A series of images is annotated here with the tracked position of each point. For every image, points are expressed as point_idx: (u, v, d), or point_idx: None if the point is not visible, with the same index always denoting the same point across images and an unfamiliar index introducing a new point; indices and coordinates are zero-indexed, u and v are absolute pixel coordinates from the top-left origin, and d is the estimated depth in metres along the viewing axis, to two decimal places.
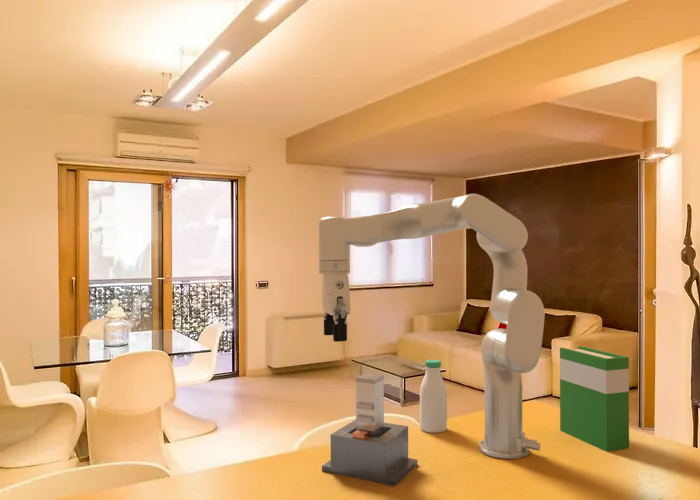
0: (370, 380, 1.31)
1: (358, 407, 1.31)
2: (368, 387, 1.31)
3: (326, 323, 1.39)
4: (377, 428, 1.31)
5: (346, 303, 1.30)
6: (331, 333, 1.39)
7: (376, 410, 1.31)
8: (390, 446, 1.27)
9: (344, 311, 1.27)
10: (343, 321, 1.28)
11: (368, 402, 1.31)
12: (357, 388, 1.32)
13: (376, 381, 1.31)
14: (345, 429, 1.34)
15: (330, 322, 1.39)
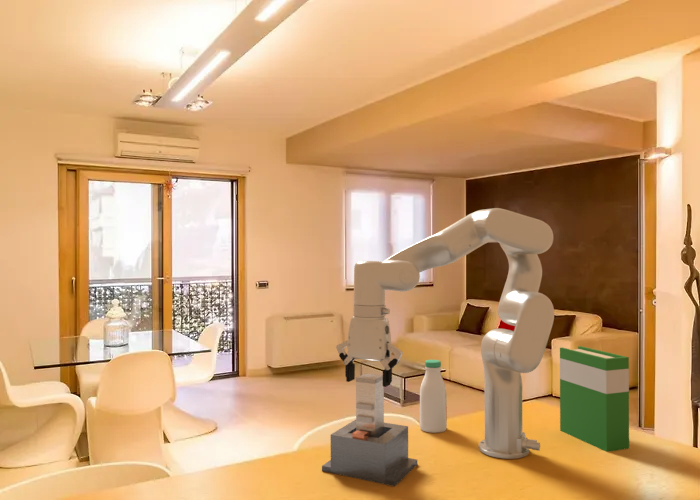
0: (370, 380, 1.31)
1: (358, 407, 1.31)
2: (368, 387, 1.31)
3: (349, 369, 1.34)
4: (377, 428, 1.31)
5: None
6: (352, 379, 1.36)
7: (376, 410, 1.31)
8: (390, 446, 1.27)
9: None
10: (394, 365, 1.30)
11: (368, 402, 1.31)
12: (357, 388, 1.32)
13: (376, 381, 1.31)
14: (345, 429, 1.34)
15: (352, 367, 1.35)
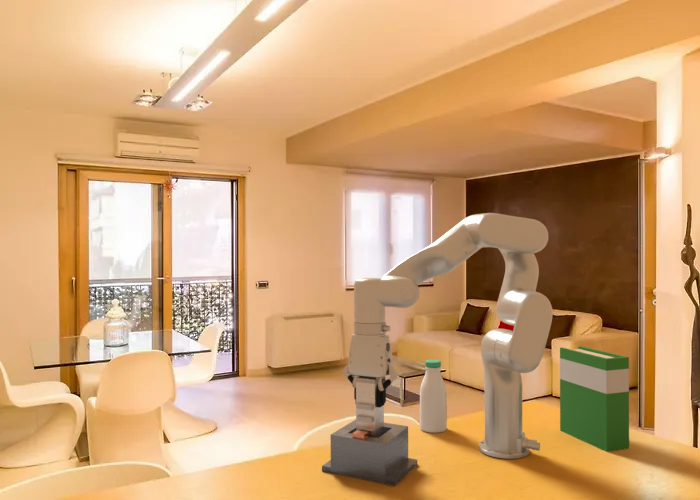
0: (370, 380, 1.31)
1: (358, 407, 1.31)
2: (368, 387, 1.31)
3: None
4: (377, 428, 1.31)
5: (391, 364, 1.32)
6: None
7: (376, 410, 1.31)
8: (390, 446, 1.27)
9: (396, 379, 1.30)
10: None
11: (368, 402, 1.31)
12: (357, 388, 1.32)
13: (376, 381, 1.31)
14: (345, 429, 1.34)
15: None
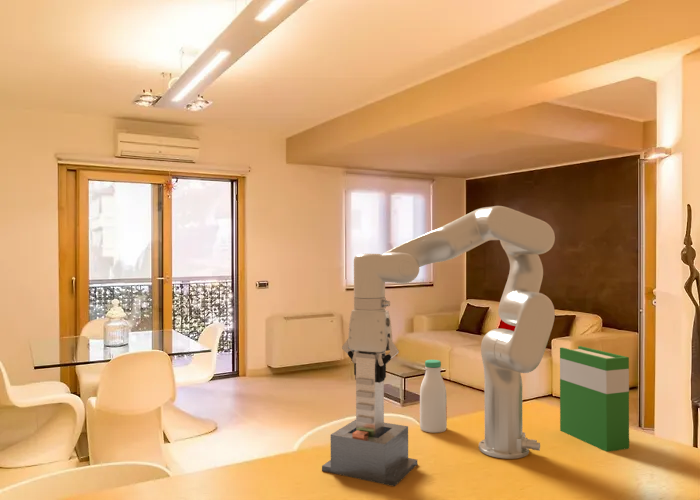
0: (370, 355, 1.30)
1: (358, 382, 1.31)
2: (368, 362, 1.31)
3: None
4: (377, 403, 1.31)
5: (391, 339, 1.32)
6: None
7: (376, 385, 1.31)
8: (390, 446, 1.27)
9: None
10: (388, 361, 1.32)
11: (368, 377, 1.31)
12: (357, 363, 1.32)
13: (376, 356, 1.31)
14: (345, 429, 1.34)
15: None
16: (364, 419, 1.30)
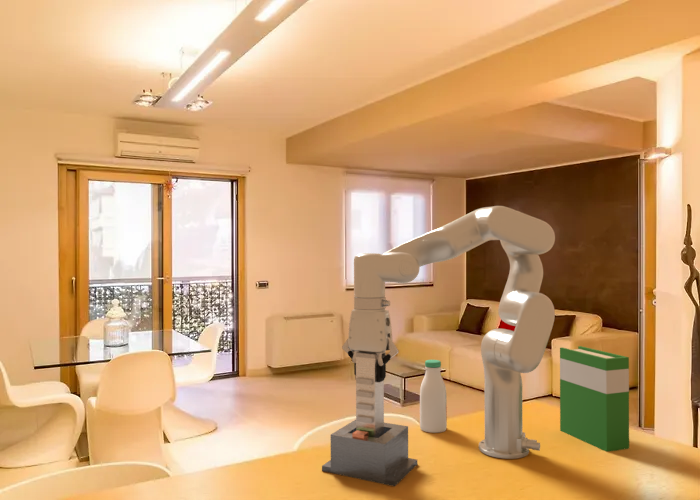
0: (370, 355, 1.30)
1: (358, 382, 1.31)
2: (368, 362, 1.31)
3: None
4: (377, 403, 1.31)
5: (391, 339, 1.32)
6: None
7: (376, 385, 1.31)
8: (390, 446, 1.27)
9: (395, 354, 1.30)
10: (387, 361, 1.32)
11: (368, 377, 1.31)
12: (357, 363, 1.32)
13: (376, 356, 1.31)
14: (345, 429, 1.34)
15: None
16: (364, 419, 1.30)
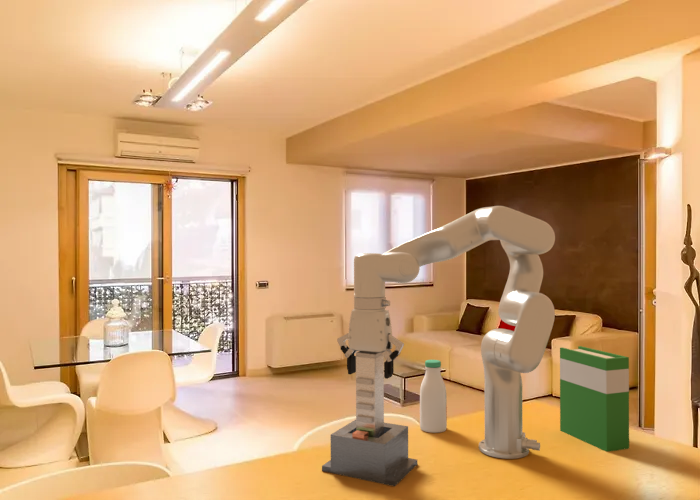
0: (370, 355, 1.30)
1: (358, 382, 1.31)
2: (368, 362, 1.31)
3: (351, 362, 1.35)
4: (377, 403, 1.31)
5: None
6: (353, 371, 1.36)
7: (376, 385, 1.31)
8: (390, 446, 1.27)
9: (402, 347, 1.30)
10: (395, 357, 1.31)
11: (368, 377, 1.31)
12: (357, 363, 1.32)
13: (376, 356, 1.31)
14: (345, 429, 1.34)
15: (353, 360, 1.35)
16: (364, 419, 1.30)
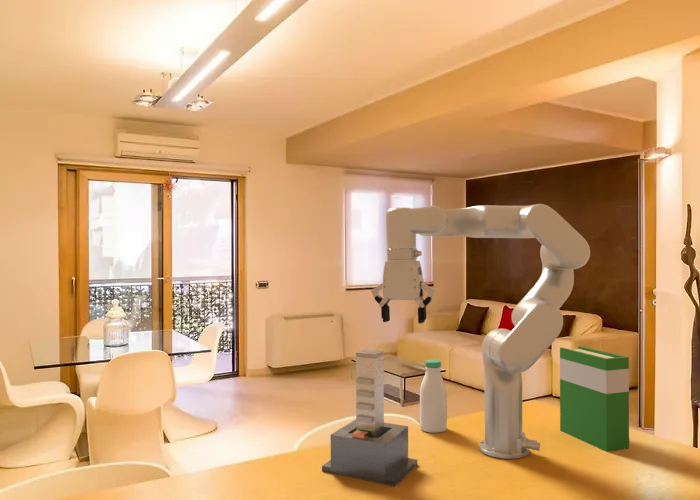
0: (370, 355, 1.30)
1: (358, 382, 1.31)
2: (368, 362, 1.31)
3: (385, 310, 1.44)
4: (377, 403, 1.31)
5: None
6: (387, 319, 1.45)
7: (376, 385, 1.31)
8: (390, 446, 1.27)
9: (434, 293, 1.39)
10: (428, 303, 1.40)
11: (368, 377, 1.31)
12: (357, 363, 1.32)
13: (376, 356, 1.31)
14: (345, 429, 1.34)
15: (387, 309, 1.45)
16: (364, 419, 1.30)
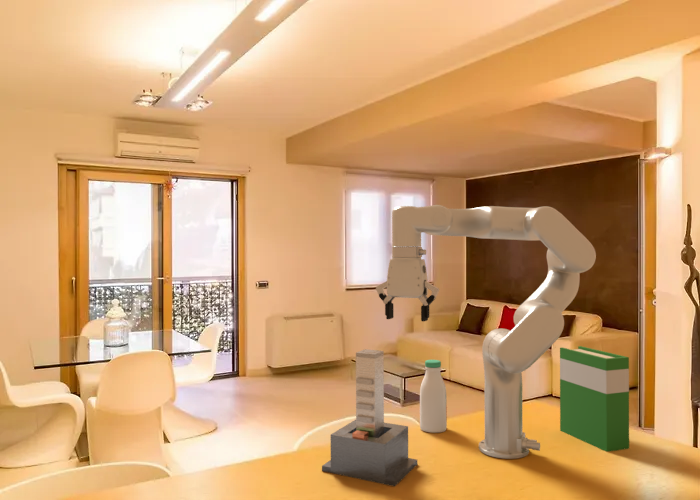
0: (370, 355, 1.30)
1: (358, 382, 1.31)
2: (368, 362, 1.31)
3: (389, 307, 1.45)
4: (377, 403, 1.31)
5: None
6: (391, 317, 1.46)
7: (376, 385, 1.31)
8: (390, 446, 1.27)
9: (437, 292, 1.40)
10: (431, 302, 1.41)
11: (368, 377, 1.31)
12: (357, 363, 1.32)
13: (376, 356, 1.31)
14: (345, 429, 1.34)
15: (391, 306, 1.46)
16: (364, 419, 1.30)
